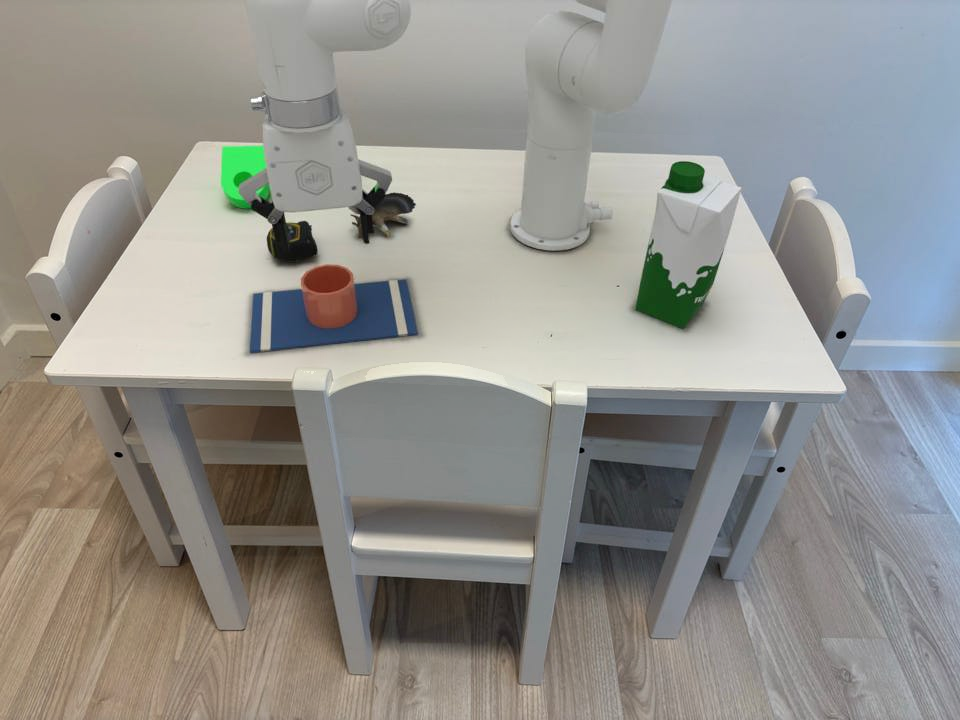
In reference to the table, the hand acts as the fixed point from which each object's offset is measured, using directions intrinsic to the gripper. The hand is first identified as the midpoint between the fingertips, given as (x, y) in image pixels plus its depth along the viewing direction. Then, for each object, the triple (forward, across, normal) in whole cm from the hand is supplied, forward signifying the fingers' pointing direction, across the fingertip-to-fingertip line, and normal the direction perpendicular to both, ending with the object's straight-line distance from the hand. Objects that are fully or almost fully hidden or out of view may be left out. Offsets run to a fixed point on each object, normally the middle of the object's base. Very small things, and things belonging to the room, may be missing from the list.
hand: (326, 241), depth 84 cm
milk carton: (+12, +45, -6) cm, 47 cm away
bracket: (+12, -6, +34) cm, 36 cm away
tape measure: (+11, -5, +16) cm, 20 cm away
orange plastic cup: (+11, -1, 0) cm, 11 cm away
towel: (+11, -1, 0) cm, 11 cm away
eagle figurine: (+12, +8, +20) cm, 24 cm away
